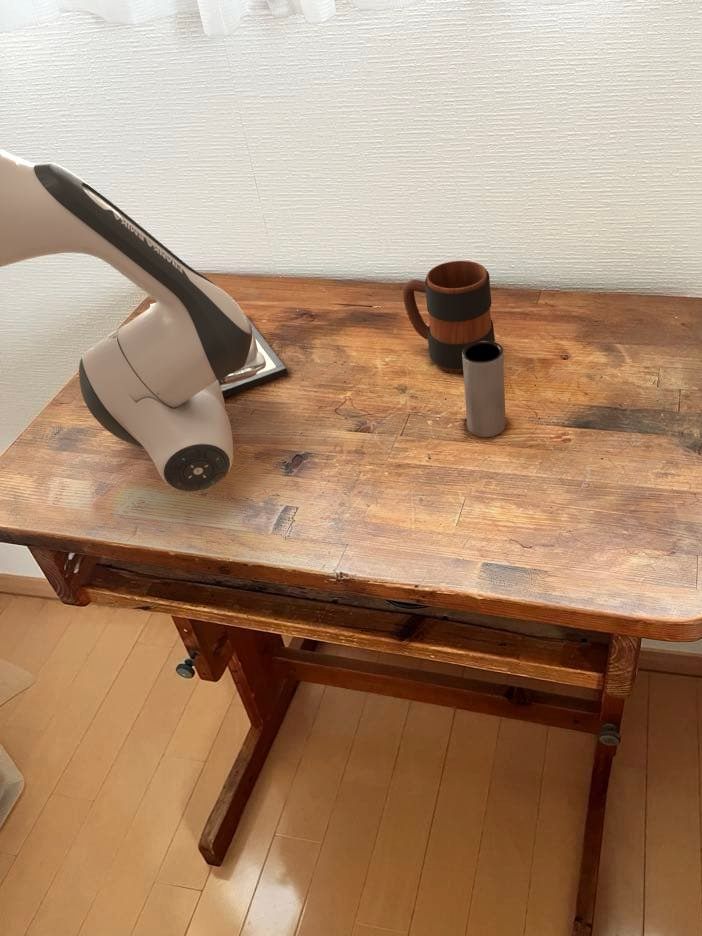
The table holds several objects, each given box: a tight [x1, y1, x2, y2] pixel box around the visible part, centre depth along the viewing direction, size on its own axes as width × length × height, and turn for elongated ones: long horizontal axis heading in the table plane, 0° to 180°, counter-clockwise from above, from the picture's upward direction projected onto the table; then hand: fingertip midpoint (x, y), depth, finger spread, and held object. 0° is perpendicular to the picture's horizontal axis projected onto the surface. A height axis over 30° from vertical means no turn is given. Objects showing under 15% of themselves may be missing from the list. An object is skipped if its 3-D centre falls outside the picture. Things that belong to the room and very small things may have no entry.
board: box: [221, 312, 289, 399], centre depth 115 cm, size 20×18×1 cm
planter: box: [462, 340, 506, 438], centre depth 95 cm, size 4×4×10 cm
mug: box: [402, 260, 496, 374], centre depth 106 cm, size 9×12×12 cm
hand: (172, 336), depth 108 cm, fingers open, 8 cm apart
